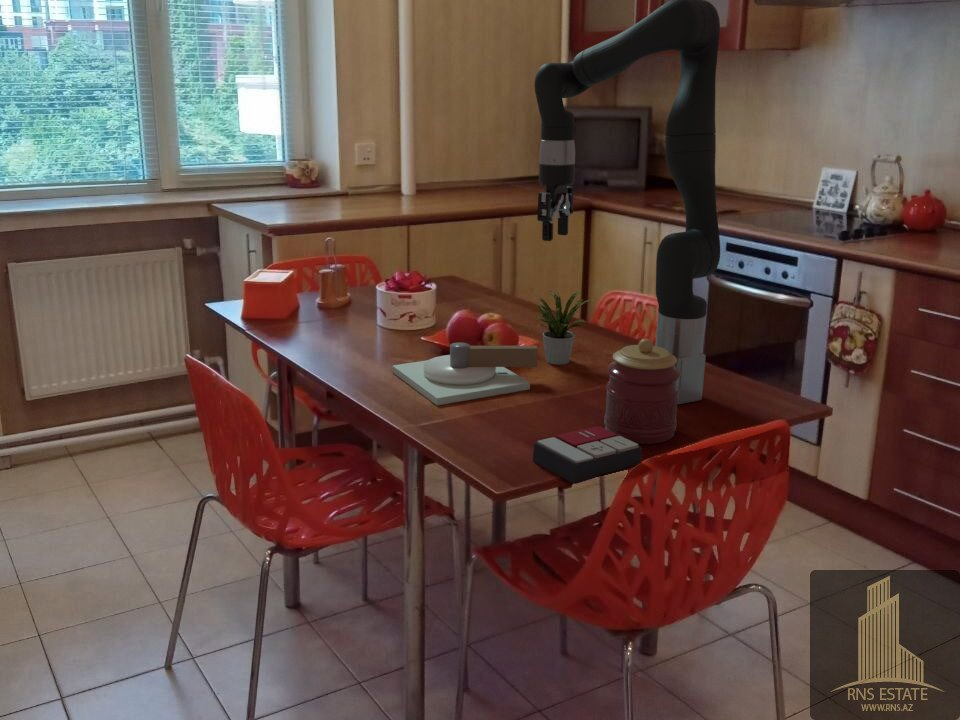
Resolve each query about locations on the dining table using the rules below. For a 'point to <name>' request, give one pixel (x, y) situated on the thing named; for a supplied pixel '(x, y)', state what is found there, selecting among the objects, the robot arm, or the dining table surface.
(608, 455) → the calculator
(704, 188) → the robot arm
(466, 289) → the dining table surface
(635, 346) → the canister
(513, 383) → the dial base
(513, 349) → the dial
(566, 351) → the house plant
